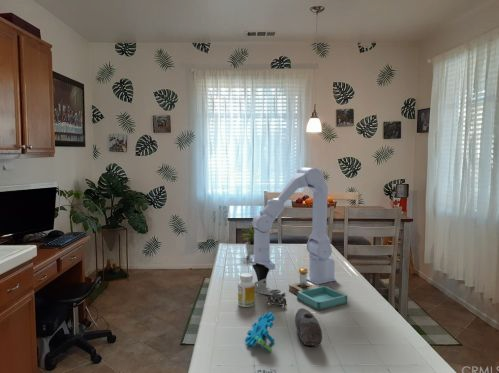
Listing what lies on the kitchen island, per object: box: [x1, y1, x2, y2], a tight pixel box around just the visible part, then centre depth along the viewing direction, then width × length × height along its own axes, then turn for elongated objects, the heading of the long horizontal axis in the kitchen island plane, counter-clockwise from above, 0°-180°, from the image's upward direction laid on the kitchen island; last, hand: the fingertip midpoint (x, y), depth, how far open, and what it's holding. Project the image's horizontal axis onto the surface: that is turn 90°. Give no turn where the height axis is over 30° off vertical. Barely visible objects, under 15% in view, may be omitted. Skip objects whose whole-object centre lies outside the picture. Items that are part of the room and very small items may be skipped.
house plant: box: [240, 224, 254, 258], centre depth 181 cm, size 14×14×16 cm
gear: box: [244, 311, 276, 353], centre depth 95 cm, size 11×6×10 cm
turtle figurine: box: [266, 294, 288, 308], centre depth 118 cm, size 15×7×4 cm, turn 71°
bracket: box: [254, 277, 286, 296], centre depth 131 cm, size 7×10×4 cm, turn 50°
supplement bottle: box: [237, 272, 256, 308], centre depth 121 cm, size 5×5×10 cm
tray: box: [296, 285, 348, 312], centre depth 124 cm, size 12×11×2 cm
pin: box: [298, 267, 309, 288], centre depth 132 cm, size 3×3×8 cm
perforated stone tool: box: [294, 307, 323, 347], centre depth 99 cm, size 15×5×7 cm, turn 5°
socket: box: [288, 282, 317, 295], centre depth 132 cm, size 7×7×2 cm
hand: (261, 283), depth 137 cm, fingers closed
